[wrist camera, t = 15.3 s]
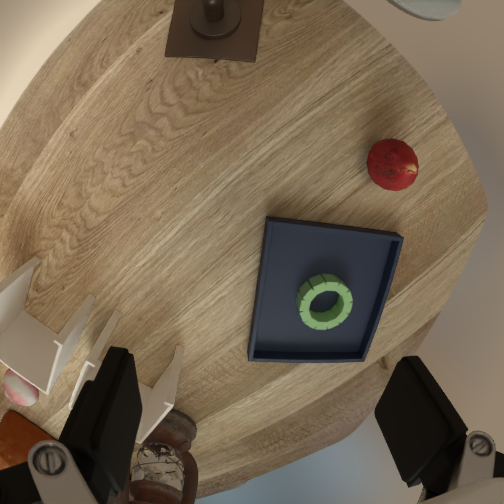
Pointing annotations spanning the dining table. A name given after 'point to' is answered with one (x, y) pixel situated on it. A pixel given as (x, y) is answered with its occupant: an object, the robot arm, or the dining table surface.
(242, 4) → the stand
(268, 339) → the tray
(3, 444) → the bread
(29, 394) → the onion
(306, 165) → the dining table surface
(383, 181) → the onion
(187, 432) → the lantern
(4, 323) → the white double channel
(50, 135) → the dining table surface
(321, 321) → the ring
